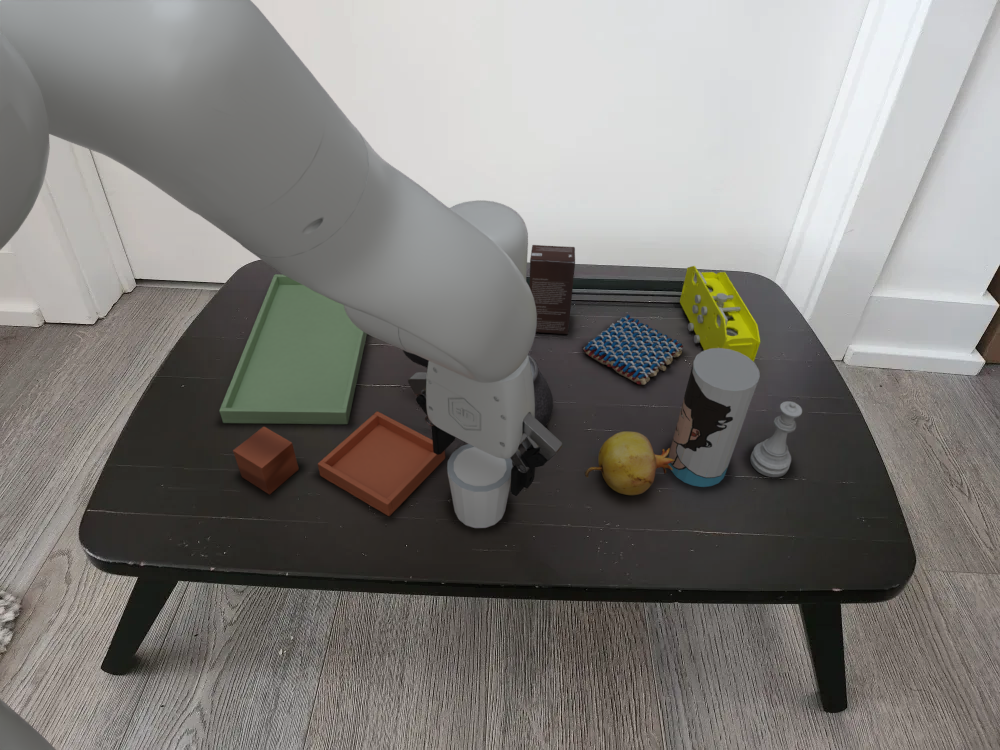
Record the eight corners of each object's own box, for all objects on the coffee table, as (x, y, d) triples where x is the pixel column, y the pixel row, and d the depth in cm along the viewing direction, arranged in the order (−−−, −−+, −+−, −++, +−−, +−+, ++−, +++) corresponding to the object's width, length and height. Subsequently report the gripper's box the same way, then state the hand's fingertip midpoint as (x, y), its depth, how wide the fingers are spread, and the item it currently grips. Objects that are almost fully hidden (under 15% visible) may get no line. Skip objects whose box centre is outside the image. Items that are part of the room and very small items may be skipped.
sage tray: (347, 424, 88) (345, 412, 87) (223, 423, 88) (218, 410, 87) (376, 287, 110) (375, 275, 109) (276, 285, 110) (274, 274, 109)
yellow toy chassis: (675, 306, 108) (686, 258, 103) (712, 304, 109) (724, 256, 103) (710, 377, 96) (724, 328, 91) (751, 374, 97) (768, 325, 91)
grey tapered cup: (505, 537, 77) (507, 495, 72) (442, 528, 77) (440, 486, 73) (515, 487, 82) (517, 445, 77) (455, 479, 82) (454, 437, 78)
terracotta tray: (389, 516, 78) (387, 504, 77) (319, 475, 82) (317, 463, 81) (445, 458, 85) (444, 446, 83) (378, 423, 89) (377, 410, 87)
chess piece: (789, 456, 86) (816, 395, 79) (786, 482, 83) (813, 421, 76) (752, 445, 87) (775, 384, 81) (747, 471, 84) (770, 410, 78)
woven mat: (686, 354, 100) (689, 342, 99) (641, 391, 94) (643, 379, 93) (624, 321, 105) (626, 310, 104) (579, 354, 99) (580, 343, 98)
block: (269, 494, 80) (261, 468, 77) (241, 477, 82) (232, 450, 79) (299, 469, 83) (292, 442, 80) (271, 452, 85) (263, 426, 82)
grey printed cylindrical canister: (707, 438, 88) (737, 343, 78) (737, 479, 83) (772, 383, 73) (657, 450, 86) (681, 354, 76) (685, 492, 82) (714, 396, 72)
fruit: (593, 479, 75) (687, 472, 76) (583, 422, 79) (672, 415, 80) (585, 506, 81) (672, 499, 82) (576, 451, 85) (659, 445, 86)
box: (568, 316, 106) (576, 245, 98) (568, 335, 102) (576, 263, 94) (527, 313, 106) (531, 242, 98) (525, 333, 103) (529, 260, 95)
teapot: (556, 370, 97) (562, 310, 90) (548, 455, 85) (554, 394, 79) (417, 357, 98) (413, 297, 92) (392, 439, 87) (384, 377, 80)
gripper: (378, 327, 65) (394, 453, 77) (543, 403, 58) (534, 529, 70) (429, 286, 70) (437, 411, 81) (587, 352, 63) (572, 478, 74)
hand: (482, 465), depth 75 cm, fingers open, 9 cm apart
